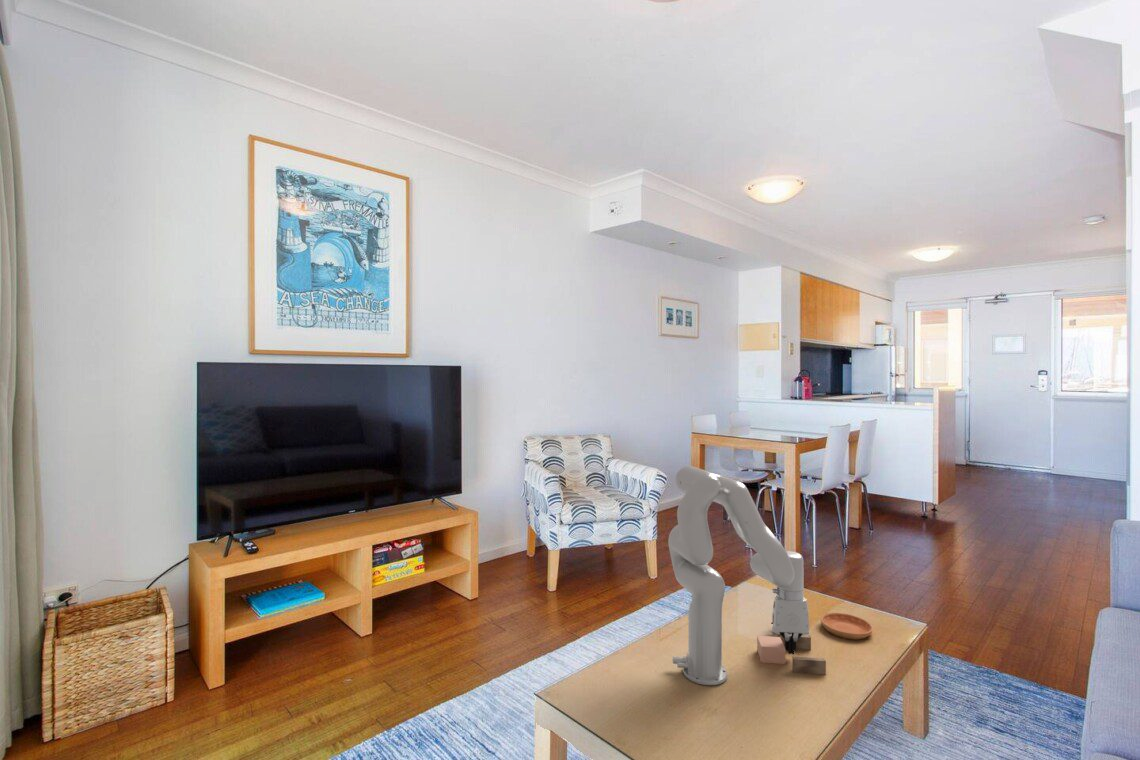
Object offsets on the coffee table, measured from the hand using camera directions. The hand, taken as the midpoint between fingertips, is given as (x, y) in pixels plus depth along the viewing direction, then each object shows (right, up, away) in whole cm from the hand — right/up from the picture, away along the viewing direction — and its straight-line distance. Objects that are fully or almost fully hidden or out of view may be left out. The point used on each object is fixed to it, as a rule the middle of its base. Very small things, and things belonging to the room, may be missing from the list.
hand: (790, 652), depth 172 cm
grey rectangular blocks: (+3, -2, 0) cm, 4 cm away
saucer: (+27, -2, +19) cm, 33 cm away
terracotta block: (-6, -2, +1) cm, 6 cm away
